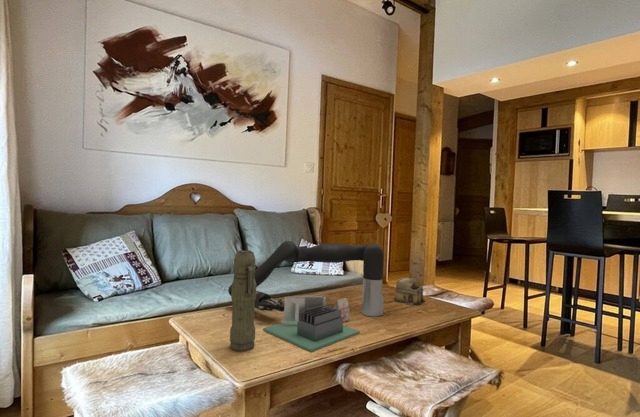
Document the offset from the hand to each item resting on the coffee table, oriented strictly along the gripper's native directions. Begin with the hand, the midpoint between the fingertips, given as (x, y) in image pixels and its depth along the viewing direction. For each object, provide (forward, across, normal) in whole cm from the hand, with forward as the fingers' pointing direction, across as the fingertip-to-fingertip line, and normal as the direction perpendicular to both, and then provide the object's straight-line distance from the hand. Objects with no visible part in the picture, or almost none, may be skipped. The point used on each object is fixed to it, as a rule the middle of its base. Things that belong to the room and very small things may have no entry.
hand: (283, 308), depth 159 cm
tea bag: (+12, +24, +8) cm, 28 cm away
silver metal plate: (+7, +6, +4) cm, 10 cm away
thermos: (+6, -25, +8) cm, 27 cm away
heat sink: (+13, +4, +7) cm, 15 cm away
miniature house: (+15, +77, +8) cm, 79 cm away
